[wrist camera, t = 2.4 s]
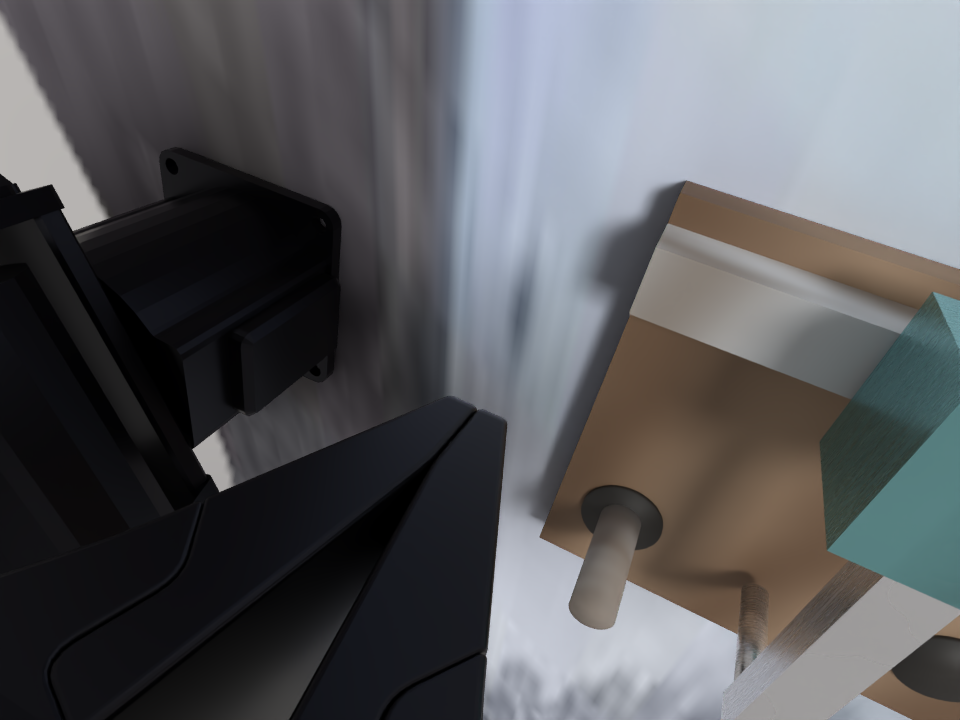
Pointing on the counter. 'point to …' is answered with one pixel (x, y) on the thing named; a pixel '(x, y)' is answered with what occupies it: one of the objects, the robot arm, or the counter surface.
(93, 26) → the counter surface
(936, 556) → the leg
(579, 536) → the plate
